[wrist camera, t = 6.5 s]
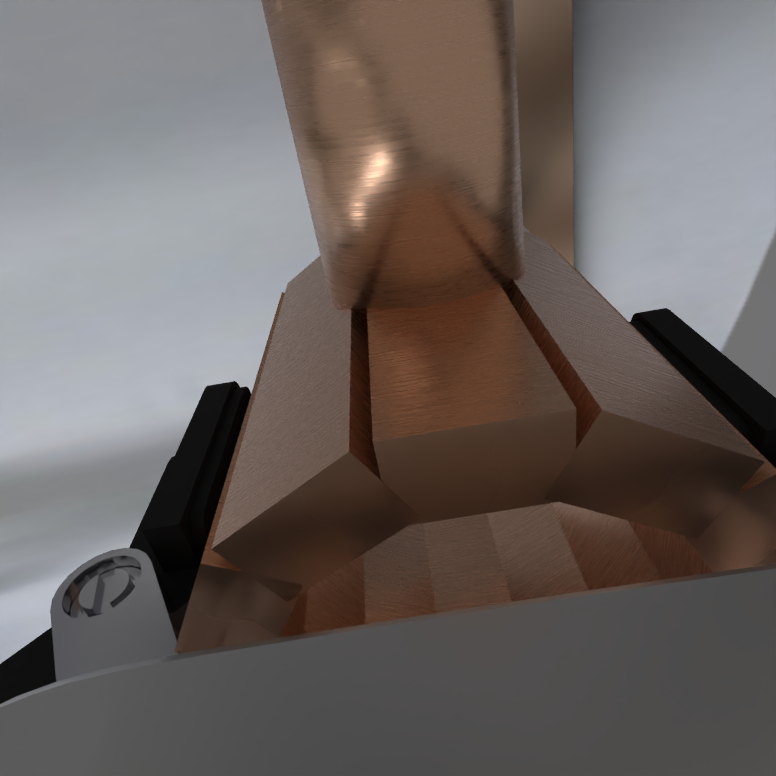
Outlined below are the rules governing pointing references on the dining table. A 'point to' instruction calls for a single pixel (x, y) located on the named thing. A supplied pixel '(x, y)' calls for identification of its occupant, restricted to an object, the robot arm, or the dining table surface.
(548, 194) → the duct board
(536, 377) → the wooden stave mug
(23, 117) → the dining table surface
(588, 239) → the dining table surface
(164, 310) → the dining table surface
